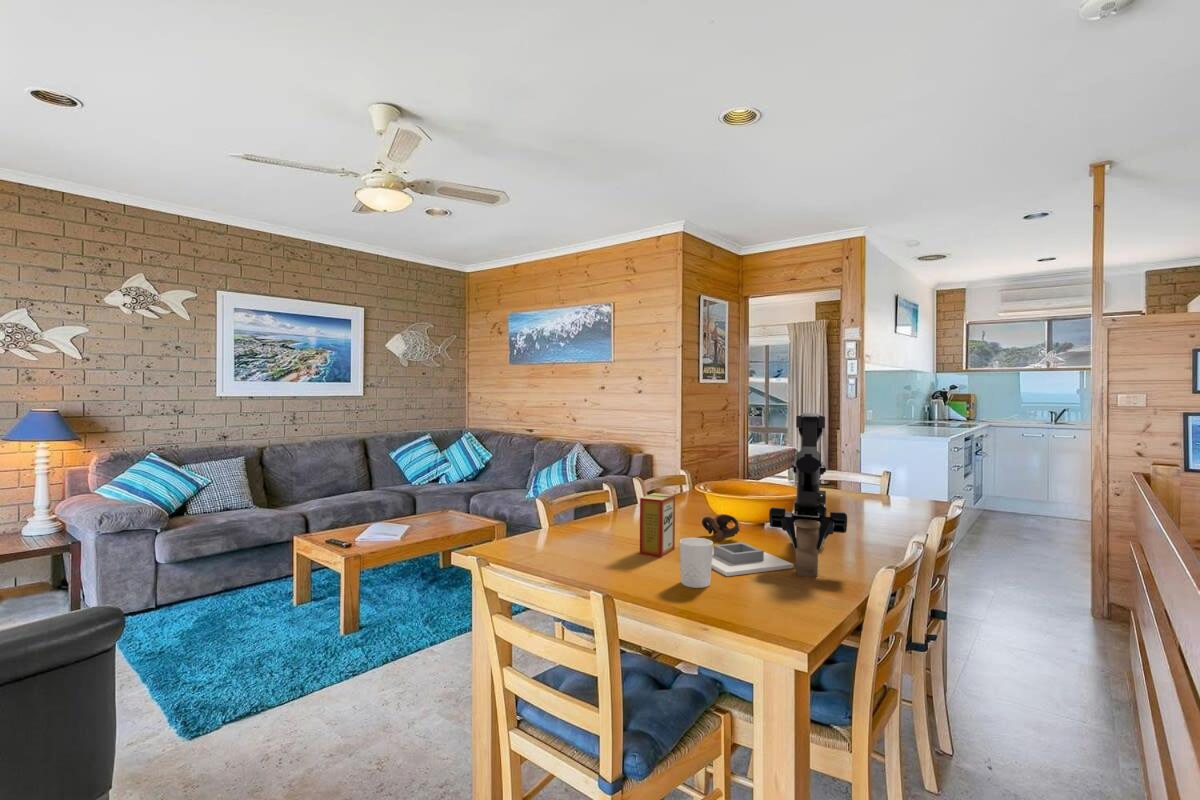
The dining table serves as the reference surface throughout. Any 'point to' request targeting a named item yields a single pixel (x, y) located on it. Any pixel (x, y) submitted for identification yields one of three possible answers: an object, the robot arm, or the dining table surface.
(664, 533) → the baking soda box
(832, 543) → the dining table surface
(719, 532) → the pottery mug
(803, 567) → the brown cylinder
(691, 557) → the white cup
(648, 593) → the dining table surface
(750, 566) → the square socket base
